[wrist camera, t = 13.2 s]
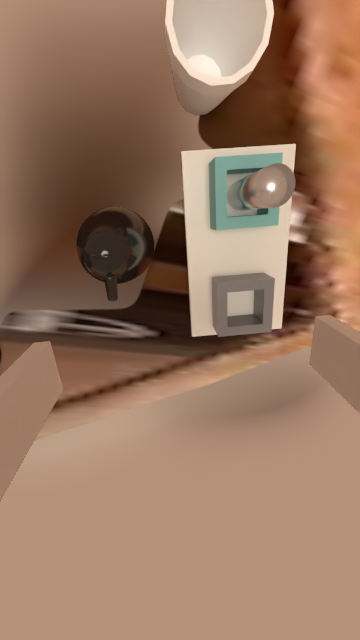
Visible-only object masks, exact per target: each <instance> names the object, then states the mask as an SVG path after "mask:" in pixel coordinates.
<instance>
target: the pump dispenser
mask: <svg viewBox="0 0 360 640" xmlns="http://www.w3.org/2000/svg"><path fill="white" fill-rule="evenodd" d="M76 251H77V256H78V259H79V261H80V263H81V265H82V266H83V268H84V269H85V270H86V271H87V272H88V273H89V274H90V275H91V276H92V277H94V278H96V279H97V280H100V281H102V282H105V285H106V291H107V297H108V300H109V301H115V300H117V284H119V283H125V282H128V281H131V280H133V279H135V278H136V277H138V276H139V275H140V274H142V273H143V272H144V271H145V270H146V268H147V267H148V266H149V264H150V262H151V260H152V257H153V253H154V240H153V235H152V232H151V230H150V228H149V226H148V224H147V223H146V222H145V220H144V219H143V218H142V217H141V216H140V215H139V214H137V213H136V212H134V211H132V210H130V209H128V208H125V207H120V206H108V207H104V208H101V209H98V210H97V211H95V212H93V213H92V214H91V215H89V216H88V217H87V218H86V219H85V221H84V222H83V223H82V225H81V227H80V229H79V231H78V235H77V240H76Z"/></svg>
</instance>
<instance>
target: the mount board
mask: <svg viewBox="0 0 360 640" xmlns="http://www.w3.org/2000/svg"><path fill="white" fill-rule="evenodd" d="M295 149H296V144H286V145H270V146H255V147H240V148H224V149H209V150H194V151H181V169H182V186H183V203H184V220H185V237H186V254H187V271H188V287H189V304H190V321H191V334H192V337H195V336H205V335H216V334H217V336H218V337H222V336H232V335H243V334H253V333H264V332H272V329H280V328H282V315H283V303H284V290H285V277H286V264H287V251H288V239H289V226H290V213H291V200H292V196H291V198H290V199H289V200H288V201H287V202H286V203H285V204H283V205H282V206H279V222H278V225H276V226H263V227H251V228H238V229H225V230H213V229H210V199H209V163H210V162H211V161H212V160H213V158H214V157H223V156H238V155H253V154H268V153H283V159H282V164H285V165H287V166H288V167H289V168H290V169H291V170H292V172H293V174H294V162H295ZM250 174H253V173H243V174H229V175H227V192H228V189H229V187H230V186H231V185H232V184H233V183H234V182H236V181H238V180H240V179H242V178H244V177H246V176H248V175H250ZM245 215H257V209H250V210H235V209H233V208H232V207H231V206H230V205H229V204H228V201H227V217H232V216H245Z"/></svg>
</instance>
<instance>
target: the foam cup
mask: <svg viewBox="0 0 360 640" xmlns="http://www.w3.org/2000/svg"><path fill="white" fill-rule="evenodd" d="M273 15H274V9H273V2H272V0H167V6H166V20H165V42H166V46H167V49H168V53H169V57H170V61H171V67H172V73H173V79H174V84H175V89H176V93H177V96H178V100H179V102H180V103H181V105H182V106H183V107H184V109H185V110H186V111H188V112H190V113H192V114H194V115H204V114H207V113H209V112H210V111H211V110H213V109H214V108H215V107H217V106H218V105H219V104H220V103H221V102H222V101H223V100H224V99H225V98H226V97H227V96H228V95H229V94H230V93H231V92H232V91H233V90H234V89H236V88H237V87H239V86H240V85H241V84H243V83H244V82H246V80H247V79H248V77H249V76H250V74H251V73H252V71H253V69H254V68H255V66H256V64H257V63H258V61H259V59H260V57H261V56H262V54H263V52H264V51H265V49H266V47H267V45H268V43H269V37H270V32H271V26H272V21H273Z"/></svg>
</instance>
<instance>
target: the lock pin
mask: <svg viewBox="0 0 360 640" xmlns="http://www.w3.org/2000/svg"><path fill="white" fill-rule="evenodd" d="M294 189H295V176H294V174H293V172H292V170H291V169H290V168H289V167H288V166H287V165H285V164H281V163H275V164H271V165H269V166H267V167H265V168H263V169H261V170H259V171H257V172H255V173H253V174H250V175H248V176H246V177H244V178H242V179H240V180H238V181H236V182H234V183H233V184H232V185H231V186H230V187H229V189H228V192H227V201H228V204H229V205H230V206H231V207H232V208H233V209H235V210H250V209H263V208H275V207H279V206H282V205H283V204H285V203H286V202H287V201H288V200H289V199H290V198H291V196H292V194H293V192H294Z"/></svg>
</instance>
